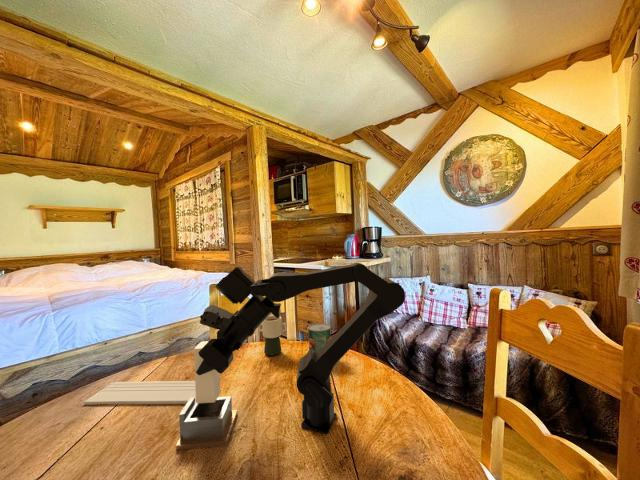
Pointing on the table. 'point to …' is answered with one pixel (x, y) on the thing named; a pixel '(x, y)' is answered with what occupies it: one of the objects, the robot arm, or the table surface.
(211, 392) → the cream rectangular block
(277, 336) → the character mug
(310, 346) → the canned tomato
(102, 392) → the baseboard molding
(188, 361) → the table surface
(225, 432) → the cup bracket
